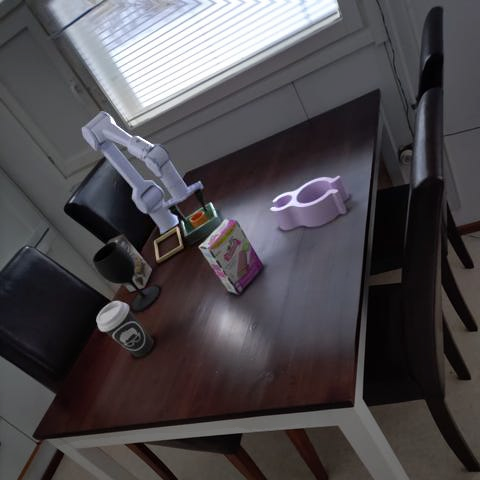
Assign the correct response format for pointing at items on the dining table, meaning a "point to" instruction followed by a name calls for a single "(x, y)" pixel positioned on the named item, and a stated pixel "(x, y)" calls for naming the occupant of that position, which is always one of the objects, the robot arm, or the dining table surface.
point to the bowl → (198, 219)
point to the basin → (197, 233)
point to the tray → (172, 250)
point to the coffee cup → (124, 328)
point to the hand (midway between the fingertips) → (196, 216)
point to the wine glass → (122, 272)
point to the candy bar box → (231, 256)
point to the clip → (311, 204)
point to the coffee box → (141, 266)
